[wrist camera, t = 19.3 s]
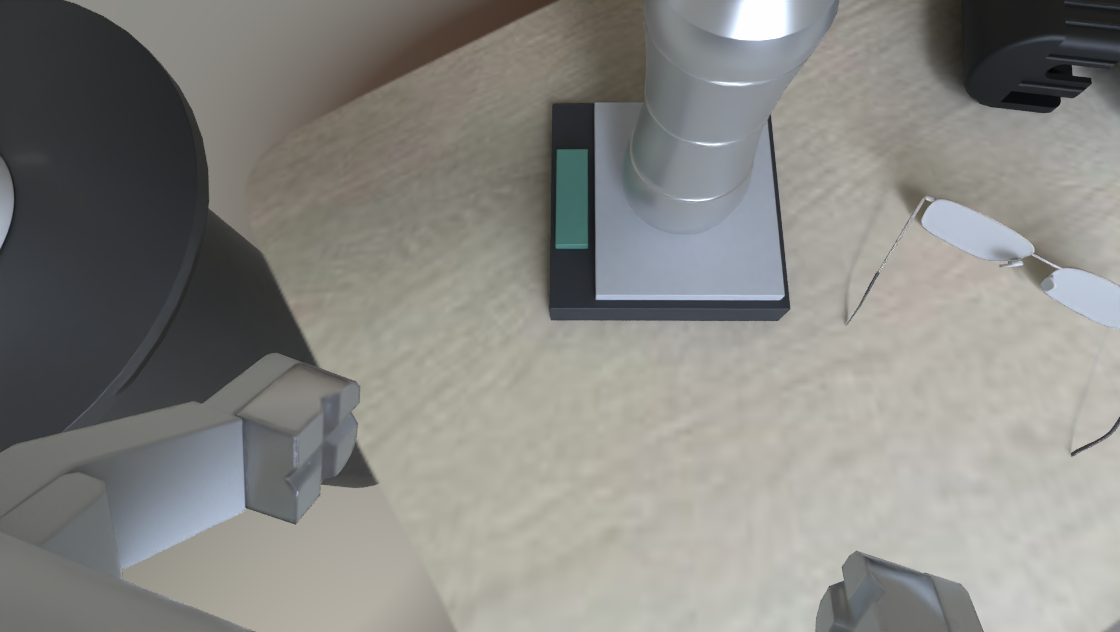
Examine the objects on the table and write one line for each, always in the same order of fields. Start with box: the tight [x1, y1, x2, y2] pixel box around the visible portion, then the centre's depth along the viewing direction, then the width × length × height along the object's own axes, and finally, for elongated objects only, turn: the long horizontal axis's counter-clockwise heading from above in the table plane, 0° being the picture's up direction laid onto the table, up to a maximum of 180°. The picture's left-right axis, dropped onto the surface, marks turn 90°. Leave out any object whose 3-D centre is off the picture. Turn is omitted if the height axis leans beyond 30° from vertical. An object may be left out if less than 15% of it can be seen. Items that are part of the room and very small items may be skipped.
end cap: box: [962, 0, 1120, 113], centre depth 38 cm, size 10×7×7 cm
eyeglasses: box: [846, 196, 1120, 457], centre depth 34 cm, size 14×8×4 cm, turn 56°
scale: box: [549, 102, 790, 321], centre depth 37 cm, size 13×13×3 cm
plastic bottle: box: [621, 0, 839, 234], centre depth 26 cm, size 6×7×20 cm
